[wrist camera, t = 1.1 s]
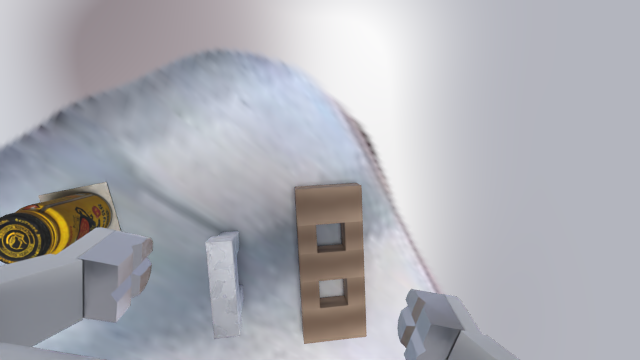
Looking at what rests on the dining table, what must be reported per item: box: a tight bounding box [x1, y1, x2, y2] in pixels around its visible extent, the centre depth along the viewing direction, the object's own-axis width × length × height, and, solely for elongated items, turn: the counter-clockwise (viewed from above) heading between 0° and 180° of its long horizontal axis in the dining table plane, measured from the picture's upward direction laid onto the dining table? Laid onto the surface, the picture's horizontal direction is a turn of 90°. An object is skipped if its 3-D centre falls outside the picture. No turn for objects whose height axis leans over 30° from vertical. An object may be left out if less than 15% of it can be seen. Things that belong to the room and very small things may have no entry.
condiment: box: [0, 182, 120, 264], centre depth 36 cm, size 7×8×12 cm
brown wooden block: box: [295, 183, 366, 344], centre depth 45 cm, size 22×9×3 cm, turn 3°
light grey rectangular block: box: [206, 231, 244, 339], centre depth 41 cm, size 12×3×8 cm, turn 3°
